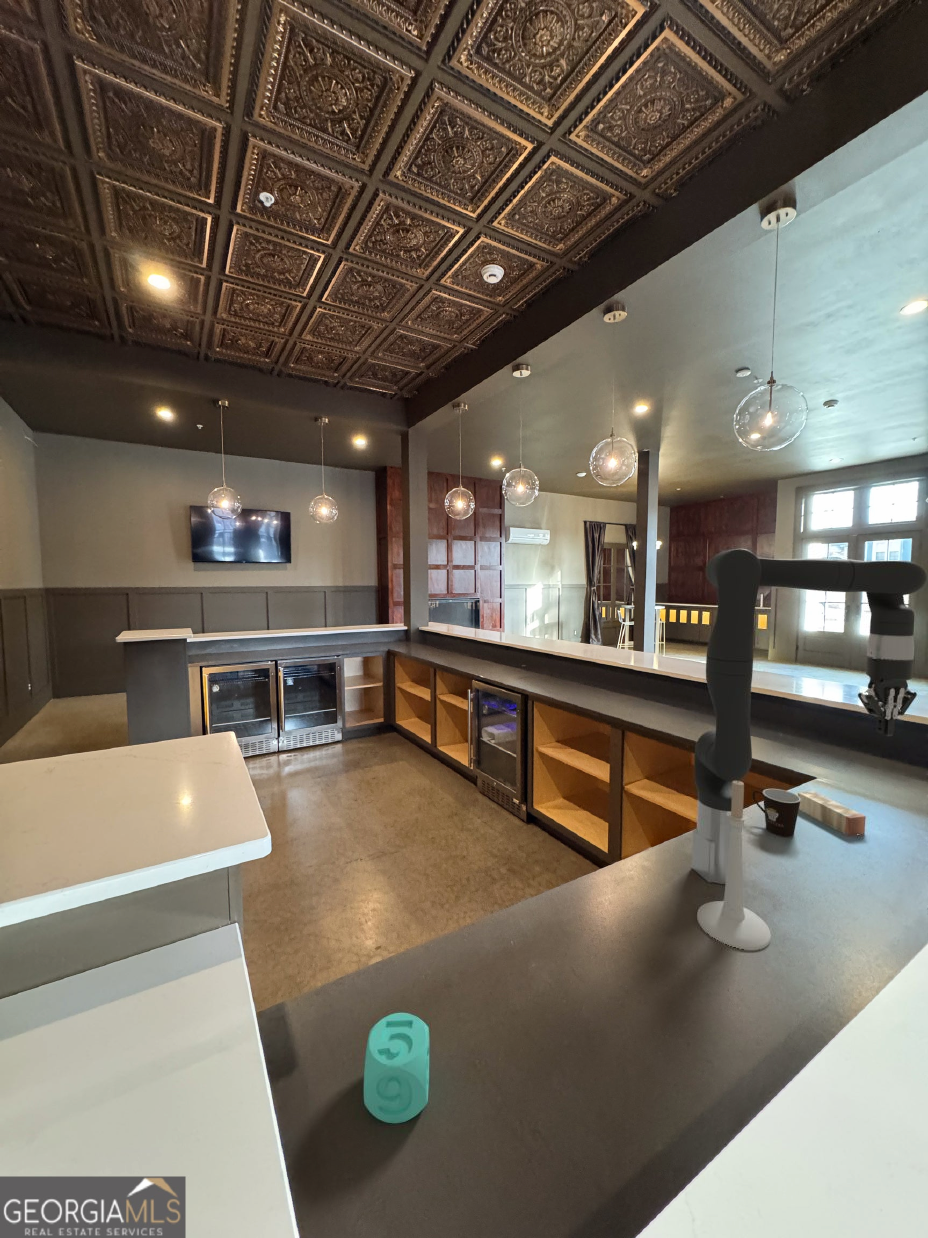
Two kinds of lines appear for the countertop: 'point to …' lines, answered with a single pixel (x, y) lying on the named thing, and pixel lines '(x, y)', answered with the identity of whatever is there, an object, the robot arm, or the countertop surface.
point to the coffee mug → (779, 811)
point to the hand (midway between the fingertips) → (884, 734)
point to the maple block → (832, 813)
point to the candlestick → (734, 893)
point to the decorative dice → (397, 1068)
